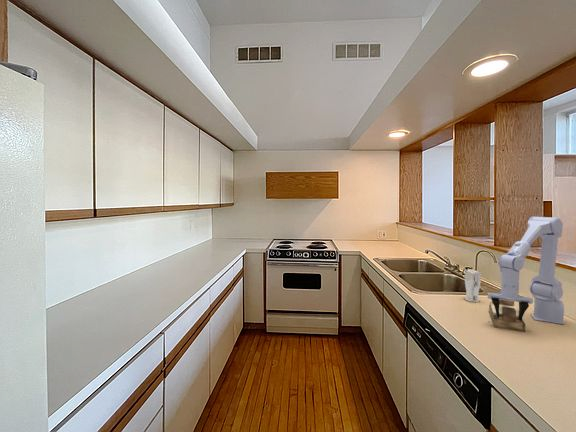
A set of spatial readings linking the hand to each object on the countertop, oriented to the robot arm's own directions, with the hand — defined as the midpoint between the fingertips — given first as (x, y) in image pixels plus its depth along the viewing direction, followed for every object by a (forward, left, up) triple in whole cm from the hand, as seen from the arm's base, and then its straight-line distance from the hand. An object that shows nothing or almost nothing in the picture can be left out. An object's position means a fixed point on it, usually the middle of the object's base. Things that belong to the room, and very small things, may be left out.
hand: (508, 318), depth 123 cm
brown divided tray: (0, -8, -4) cm, 8 cm away
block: (0, 0, -1) cm, 1 cm away
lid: (0, -10, 0) cm, 10 cm away
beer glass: (+11, -32, -4) cm, 34 cm away
